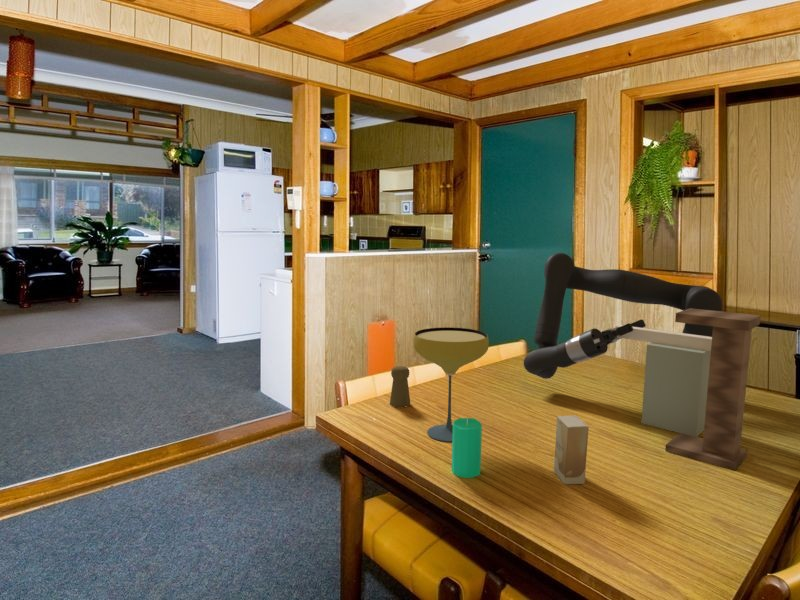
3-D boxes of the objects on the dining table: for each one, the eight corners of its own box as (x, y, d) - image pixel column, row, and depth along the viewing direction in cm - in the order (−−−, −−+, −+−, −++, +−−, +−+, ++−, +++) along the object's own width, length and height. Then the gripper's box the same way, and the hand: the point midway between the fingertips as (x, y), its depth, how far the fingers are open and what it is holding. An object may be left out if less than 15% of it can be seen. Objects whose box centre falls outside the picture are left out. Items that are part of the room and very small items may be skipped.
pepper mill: (408, 408, 151) (408, 370, 149) (387, 406, 152) (387, 369, 151) (412, 401, 157) (412, 364, 155) (392, 400, 158) (392, 363, 157)
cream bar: (615, 337, 147) (615, 326, 146) (619, 335, 149) (620, 324, 148) (722, 353, 129) (724, 340, 128) (726, 351, 131) (727, 339, 130)
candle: (460, 462, 117) (461, 409, 115) (485, 469, 113) (487, 415, 112) (446, 472, 112) (447, 417, 110) (472, 480, 108) (473, 423, 107)
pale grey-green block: (641, 423, 140) (646, 344, 137) (655, 413, 147) (660, 338, 145) (696, 437, 131) (703, 353, 128) (707, 426, 138) (714, 346, 136)
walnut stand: (665, 450, 123) (675, 313, 119) (679, 438, 130) (690, 308, 126) (735, 470, 114) (749, 321, 109) (746, 456, 121) (760, 315, 116)
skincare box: (553, 471, 113) (555, 415, 111) (573, 470, 113) (576, 414, 111) (564, 485, 106) (567, 426, 105) (586, 484, 107) (589, 426, 105)
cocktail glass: (491, 449, 124) (494, 342, 120) (412, 448, 124) (413, 341, 121) (481, 420, 142) (483, 327, 138) (412, 419, 142) (413, 326, 139)
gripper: (568, 337, 150) (620, 314, 139) (591, 330, 160) (641, 308, 149) (580, 362, 148) (634, 341, 138) (602, 354, 158) (654, 333, 148)
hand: (637, 324), depth 143 cm, fingers open, 8 cm apart
